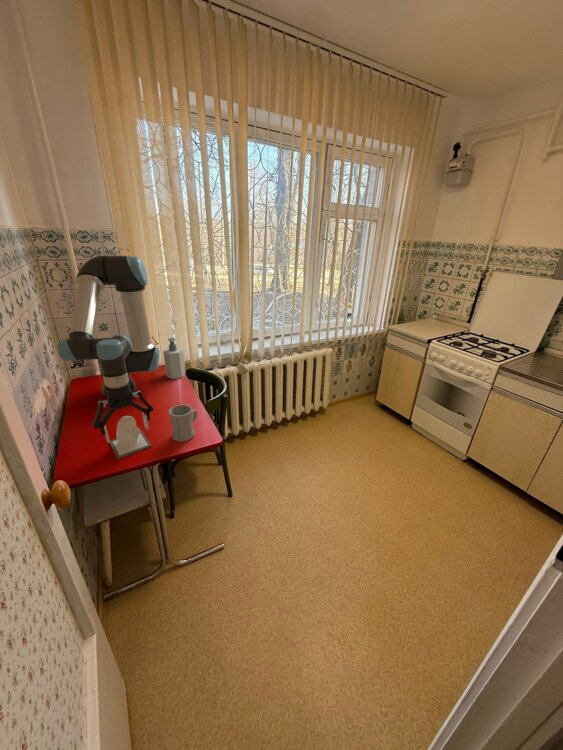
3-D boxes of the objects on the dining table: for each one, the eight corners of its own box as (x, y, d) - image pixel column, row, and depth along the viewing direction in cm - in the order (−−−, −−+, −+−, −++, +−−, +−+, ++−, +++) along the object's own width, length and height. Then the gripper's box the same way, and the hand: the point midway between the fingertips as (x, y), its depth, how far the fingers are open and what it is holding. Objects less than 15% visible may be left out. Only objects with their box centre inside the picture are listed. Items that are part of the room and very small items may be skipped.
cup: (177, 426, 127) (174, 401, 122) (199, 427, 127) (197, 402, 122) (168, 441, 118) (164, 415, 113) (191, 442, 118) (188, 416, 113)
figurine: (132, 450, 111) (126, 423, 106) (114, 447, 112) (107, 420, 107) (144, 439, 117) (139, 413, 112) (126, 436, 119) (121, 410, 114)
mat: (109, 442, 116) (109, 441, 116) (141, 431, 123) (141, 430, 123) (117, 459, 108) (117, 458, 107) (151, 446, 115) (151, 445, 114)
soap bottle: (167, 380, 166) (162, 342, 156) (165, 373, 173) (160, 337, 164) (186, 377, 170) (182, 340, 160) (184, 371, 177) (180, 335, 168)
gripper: (77, 398, 94) (92, 452, 103) (157, 378, 109) (165, 427, 118) (73, 389, 99) (88, 441, 108) (150, 371, 114) (158, 418, 123)
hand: (128, 434), depth 113 cm, fingers open, 13 cm apart
